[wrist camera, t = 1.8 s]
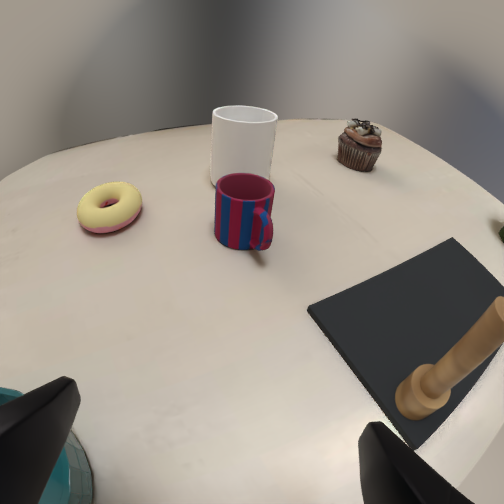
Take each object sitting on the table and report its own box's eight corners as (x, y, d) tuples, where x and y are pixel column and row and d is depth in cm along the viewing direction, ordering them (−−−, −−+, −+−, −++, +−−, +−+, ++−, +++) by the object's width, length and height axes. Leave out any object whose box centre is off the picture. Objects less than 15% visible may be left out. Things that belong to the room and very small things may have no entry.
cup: (257, 215, 41) (263, 171, 37) (284, 265, 34) (296, 216, 30) (209, 220, 39) (210, 174, 35) (228, 274, 32) (231, 223, 28)
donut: (149, 211, 43) (96, 200, 42) (152, 183, 41) (97, 173, 40) (125, 246, 35) (64, 230, 34) (126, 213, 32) (62, 199, 31)
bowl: (119, 532, 12) (97, 536, 9) (2, 534, 7) (-30, 530, 4) (73, 398, 20) (50, 376, 17) (-24, 415, 15) (-52, 395, 12)
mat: (519, 311, 31) (522, 307, 31) (412, 451, 18) (417, 449, 18) (450, 240, 43) (452, 236, 42) (306, 310, 30) (308, 305, 29)
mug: (219, 200, 43) (223, 124, 35) (200, 165, 51) (202, 103, 43) (277, 193, 46) (289, 122, 39) (250, 161, 54) (256, 101, 47)
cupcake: (383, 172, 59) (396, 131, 52) (354, 175, 55) (367, 129, 48) (355, 153, 65) (364, 114, 58) (324, 154, 61) (334, 112, 54)
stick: (440, 402, 21) (533, 319, 12) (412, 429, 19) (519, 351, 11) (415, 371, 24) (496, 277, 15) (386, 394, 22) (476, 301, 13)
